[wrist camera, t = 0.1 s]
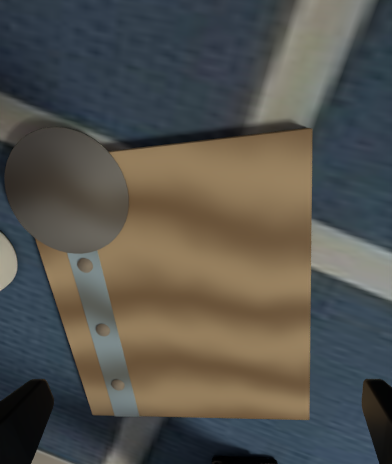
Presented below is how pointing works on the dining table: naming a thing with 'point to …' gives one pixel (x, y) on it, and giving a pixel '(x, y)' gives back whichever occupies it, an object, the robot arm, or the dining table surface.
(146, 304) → the subfloor panel
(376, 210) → the dining table surface
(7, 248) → the can
